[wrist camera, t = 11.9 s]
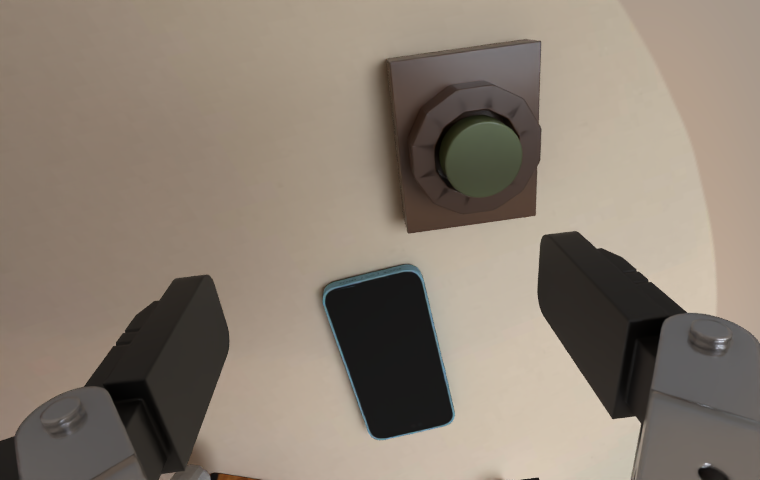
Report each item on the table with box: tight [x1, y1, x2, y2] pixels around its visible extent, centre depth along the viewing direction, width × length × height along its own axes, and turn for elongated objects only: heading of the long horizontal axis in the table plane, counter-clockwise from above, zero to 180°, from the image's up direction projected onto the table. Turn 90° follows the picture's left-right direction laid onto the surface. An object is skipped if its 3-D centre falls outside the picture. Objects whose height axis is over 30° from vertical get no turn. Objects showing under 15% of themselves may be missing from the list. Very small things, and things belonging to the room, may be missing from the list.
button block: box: [386, 39, 541, 233], centre depth 26 cm, size 10×8×4 cm
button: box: [439, 115, 523, 198], centre depth 24 cm, size 4×4×2 cm
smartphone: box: [323, 265, 455, 440], centre depth 34 cm, size 7×1×15 cm
